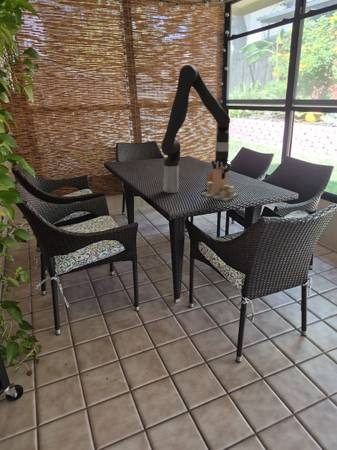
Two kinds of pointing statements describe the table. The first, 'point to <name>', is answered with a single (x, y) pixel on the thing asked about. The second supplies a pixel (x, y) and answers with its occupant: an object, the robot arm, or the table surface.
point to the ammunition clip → (209, 178)
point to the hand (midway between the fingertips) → (220, 178)
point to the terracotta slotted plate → (219, 180)
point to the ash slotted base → (224, 193)
